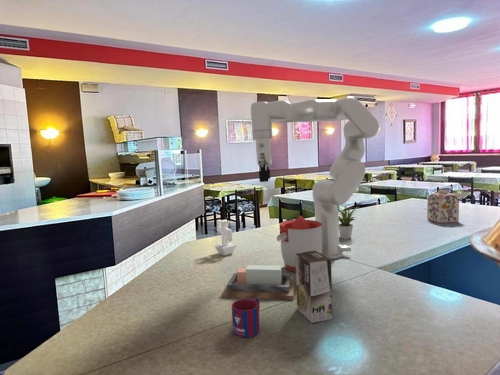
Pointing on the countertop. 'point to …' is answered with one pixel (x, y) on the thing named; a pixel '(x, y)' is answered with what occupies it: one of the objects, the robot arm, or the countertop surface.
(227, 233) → the figurine
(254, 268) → the white bar
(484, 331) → the countertop surface
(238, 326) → the mug
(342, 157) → the robot arm
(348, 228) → the house plant
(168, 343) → the countertop surface
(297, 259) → the coffee box
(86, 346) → the countertop surface
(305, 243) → the citrus juicer
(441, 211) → the decorative jar
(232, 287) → the jig
